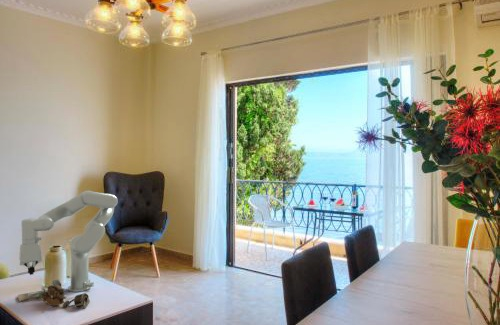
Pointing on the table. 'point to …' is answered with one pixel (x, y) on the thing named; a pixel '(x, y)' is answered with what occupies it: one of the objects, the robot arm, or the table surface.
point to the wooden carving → (54, 295)
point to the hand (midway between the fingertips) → (31, 274)
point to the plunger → (43, 288)
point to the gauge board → (35, 294)
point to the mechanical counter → (78, 301)
